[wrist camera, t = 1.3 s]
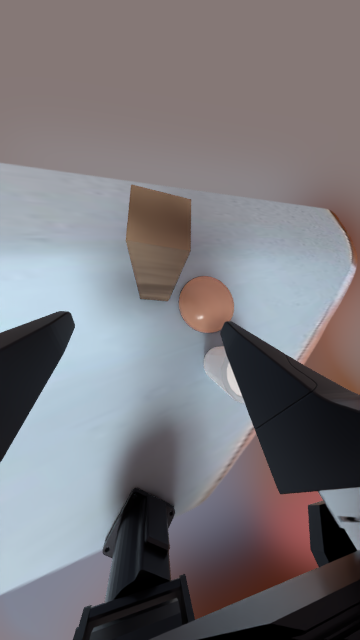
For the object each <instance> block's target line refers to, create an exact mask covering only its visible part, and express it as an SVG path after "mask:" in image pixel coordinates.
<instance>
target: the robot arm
mask: <svg viewBox="0 0 360 640" xmlns="http://www.w3.org/2000/svg"><path fill="white" fill-rule="evenodd" d="M74 328H75V324H74V321H73V318H72V315H71V313H70V312H66V311H59V312H56V313H53V314H50V315H48V316H45V317H42V318H40V319H37V320H34V321H31V322H29V323H26V324H23V325H21V326H18V327H15V328H12V329H10V330H7V331H4V332H2V333H0V462H1V461H2V459H3V457H4V456H5V454H6V452H7V450H8V449H9V447H10V445H11V444H12V442H13V440H14V438H15V437H16V435H17V433H18V431H19V430H20V428H21V426H22V425H23V423H24V421H25V419H26V418H27V416H28V414H29V412H30V411H31V409H32V407H33V406H34V404H35V402H36V400H37V399H38V397H39V395H40V393H41V392H42V390H43V388H44V387H45V385H46V383H47V381H48V380H49V378H50V376H51V374H52V373H53V371H54V369H55V368H56V366H57V364H58V362H59V361H60V359H61V357H62V355H63V353H64V351H65V349H66V347H67V345H68V342H69V340H70V338H71V335H72V333H73V331H74ZM221 337H222V341H223V345H224V349H225V352H226V355H227V358H228V361H229V363H230V366H231V368H232V371H233V374H234V376H235V379H236V381H237V384H238V387H239V389H240V392H241V394H242V397H243V400H244V402H245V405H246V408H247V410H248V413H249V415H250V418H251V421H252V423H253V426H254V428H255V431H256V434H257V436H258V439H259V442H260V444H261V447H262V449H263V452H264V455H265V457H266V460H267V463H268V465H269V468H270V470H271V473H272V476H273V478H274V481H275V483H276V486H277V488H278V491H279V493H280V494H289V493H301V492H312V491H318V492H319V494H320V496H321V497H322V499H323V501H321V502H317V503H314V504H310V505H308V514H309V531H310V547H311V551H312V553H313V555H314V558H315V560H316V562H317V564H318V566H319V568H316V569H314V570H311V571H309V572H307V573H305V574H302V575H300V576H297V577H295V578H293V579H291V580H288V581H286V582H283V583H281V584H279V585H276V586H274V587H272V588H269V589H267V590H265V591H262V592H260V593H258V594H255V595H253V596H250V597H248V598H246V599H244V600H241V601H239V602H236V603H234V604H232V605H229V606H227V607H225V608H222V609H220V610H218V611H215V612H213V613H211V614H208V615H206V616H203V617H201V618H199V619H196V620H195V619H194V613H193V609H192V604H191V599H190V595H189V590H188V585H187V581H186V576H185V574H183V575H180V576H179V578H177V579H174V580H171V574H170V561H169V549H170V545H169V534H168V528H169V526H170V524H171V521H172V519H173V517H174V514H175V509H174V506H173V505H171V504H169V503H167V502H165V501H163V500H160V499H158V498H156V497H154V496H152V495H150V494H148V493H146V492H144V491H142V490H140V489H137V488H135V489H133V490H132V492H131V494H130V496H129V498H128V499H127V501H126V503H125V505H124V507H123V509H122V511H121V513H120V515H119V517H118V519H117V520H116V522H115V524H114V526H113V528H112V530H111V532H110V534H109V536H108V538H107V540H106V541H105V543H104V547H103V554H104V555H106V556H108V557H111V558H112V564H111V570H110V575H109V582H108V587H107V593H106V598H105V603H102V604H100V605H97V606H94V607H91V605H90V606H87V607H84V610H83V613H82V617H81V620H80V624H79V627H77V628H76V631H75V635H74V638H73V640H360V395H358V394H356V393H354V392H351V391H350V390H348V389H346V388H344V387H342V386H340V385H338V384H336V383H335V382H333V381H331V380H329V379H327V378H326V377H324V376H322V375H320V374H319V373H317V372H315V371H313V370H311V369H310V368H308V367H306V366H304V365H303V364H301V363H299V362H298V361H296V360H294V359H293V358H291V357H289V356H288V355H285V354H284V353H283V352H281V351H279V350H278V349H276V348H274V347H273V346H271V345H269V344H268V343H266V342H265V341H263V340H261V339H260V338H258V337H256V336H255V335H253V334H251V333H250V332H248V331H246V330H245V329H243V328H241V327H240V326H238V325H237V324H235V323H233V322H231V321H226V322H225V323H224V325H223V327H222V329H221ZM134 494H136V495H134ZM170 511H172V512H170Z"/></svg>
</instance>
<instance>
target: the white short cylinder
mask: <svg viewBox="0 0 360 640" xmlns="http://www.w3.org/2000/svg"><path fill="white" fill-rule="evenodd" d="M204 369H205V372H206V374H207V375H208V376H209V377H210V378H211V379H212V380H213V381H214V382H215V383H216V384H217V385H218V386H220V387H221V388H222V389H223V390H224V391H225V392H226V393H227V394H228V395H229V396H230V397H232V398H233V399H234V400H235V401H238V402H241V403H243V404H245V402H244V400H243V397H242V394H241V392H240V389H239V387H238V384H237V381H236V379H235V376H234V374H233V371H232V368H231V366H230V363H229V361H228V358H227V355H226V352H225V349H224V346H220V347H214V348H212V349H210V350H209V351H208V352H207V353H206V355H205V358H204Z"/></svg>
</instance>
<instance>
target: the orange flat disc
mask: <svg viewBox="0 0 360 640" xmlns="http://www.w3.org/2000/svg"><path fill="white" fill-rule="evenodd" d="M179 310H180V313H181V316H182V318H183V319H184V321H185V322H186V323H187V324H188V325H189V326H190V327H191V328H193V329H194V330H196V331H199V332H203V333H212V332H217V331H219V330H221V329H222V327H223V325H224V323H225V322H226V321H230V320H231V318H232V316H233V312H234V302H233V298H232V295H231V293H230V291H229V290H228V288H227V287H226V286H225V285H224V284H223V283H222V282H220V281H219V280H217V279H215V278H212V277H208V276H201V277H197V278H194V279H192V280H190V281H189V282H188V283H187V284H186V285H185V286H184V288H183V289H182V291H181V294H180V297H179Z"/></svg>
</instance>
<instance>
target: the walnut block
mask: <svg viewBox="0 0 360 640" xmlns="http://www.w3.org/2000/svg"><path fill="white" fill-rule="evenodd" d="M126 243H127V247H128V251H129V255H130V259H131V263H132V267H133V271H134V275H135V279H136V283H137V287H138V291H139V295H140V299H148V300H160V301H169V298H170V296H171V294H172V292H173V289H174V287H175V285H176V283H177V280H178V278H179V276H180V274H181V271H182V269H183V267H184V264H185V262H186V260H187V258H188V255H189V253H190V248H191V199H187V198H183V197H179V196H175V195H171V194H167V193H163V192H159V191H155V190H151V189H147V188H143V187H139V186H135V185H131V192H130V203H129V213H128V223H127V234H126Z"/></svg>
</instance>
